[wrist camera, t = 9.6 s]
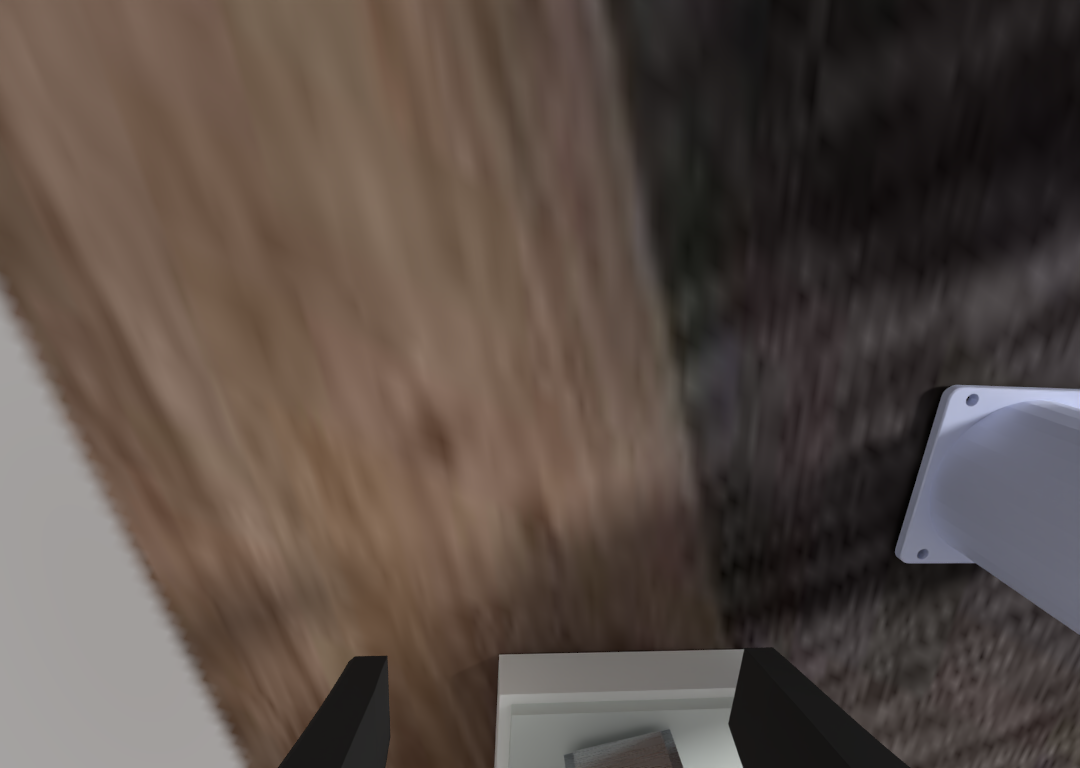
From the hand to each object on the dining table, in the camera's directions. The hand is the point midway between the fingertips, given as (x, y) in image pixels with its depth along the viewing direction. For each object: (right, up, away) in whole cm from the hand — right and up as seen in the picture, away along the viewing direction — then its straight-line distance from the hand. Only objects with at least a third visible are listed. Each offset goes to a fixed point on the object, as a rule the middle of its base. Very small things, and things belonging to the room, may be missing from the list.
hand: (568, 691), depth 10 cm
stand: (+3, -12, +14) cm, 19 cm away
